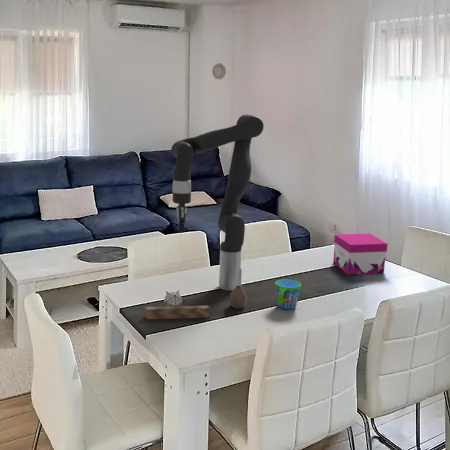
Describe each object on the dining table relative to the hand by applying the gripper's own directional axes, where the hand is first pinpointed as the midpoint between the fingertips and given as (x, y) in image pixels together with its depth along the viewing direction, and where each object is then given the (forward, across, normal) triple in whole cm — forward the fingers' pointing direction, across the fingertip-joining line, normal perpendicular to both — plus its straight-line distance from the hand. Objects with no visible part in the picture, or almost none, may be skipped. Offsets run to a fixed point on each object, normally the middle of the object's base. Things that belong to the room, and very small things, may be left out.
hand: (181, 231), depth 255 cm
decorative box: (+28, +30, -90) cm, 98 cm away
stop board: (+27, -26, +3) cm, 38 cm away
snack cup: (+27, -18, -42) cm, 53 cm away
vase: (+27, -17, -22) cm, 39 cm away
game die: (+27, -20, +4) cm, 34 cm away
